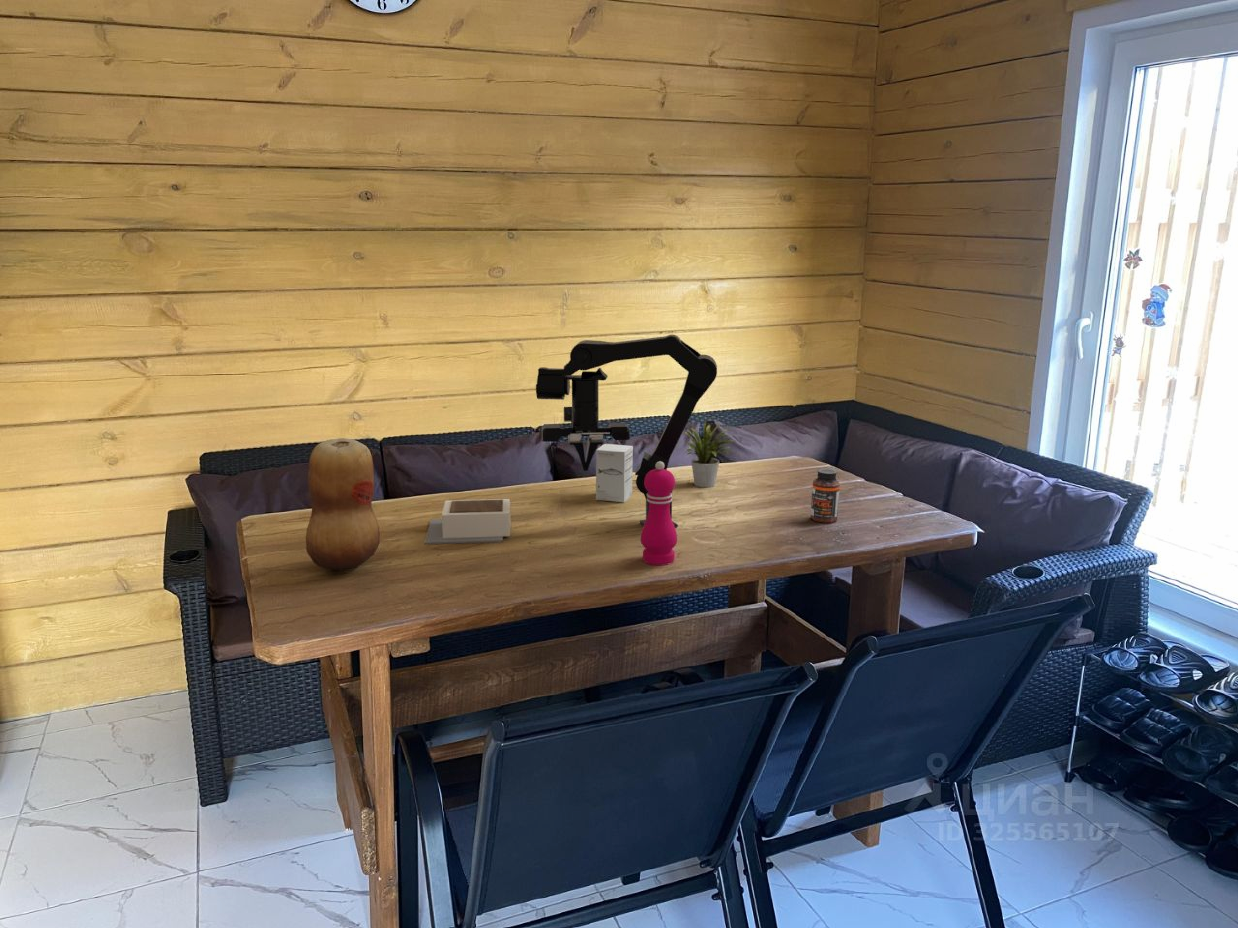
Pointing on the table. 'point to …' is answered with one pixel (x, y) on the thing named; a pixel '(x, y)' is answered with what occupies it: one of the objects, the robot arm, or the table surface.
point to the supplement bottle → (825, 497)
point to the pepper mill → (659, 518)
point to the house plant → (705, 456)
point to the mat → (437, 538)
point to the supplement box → (614, 472)
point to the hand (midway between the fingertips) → (585, 470)
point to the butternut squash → (341, 505)
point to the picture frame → (476, 518)
